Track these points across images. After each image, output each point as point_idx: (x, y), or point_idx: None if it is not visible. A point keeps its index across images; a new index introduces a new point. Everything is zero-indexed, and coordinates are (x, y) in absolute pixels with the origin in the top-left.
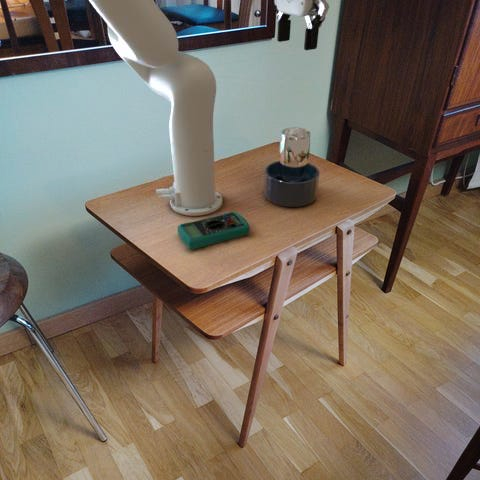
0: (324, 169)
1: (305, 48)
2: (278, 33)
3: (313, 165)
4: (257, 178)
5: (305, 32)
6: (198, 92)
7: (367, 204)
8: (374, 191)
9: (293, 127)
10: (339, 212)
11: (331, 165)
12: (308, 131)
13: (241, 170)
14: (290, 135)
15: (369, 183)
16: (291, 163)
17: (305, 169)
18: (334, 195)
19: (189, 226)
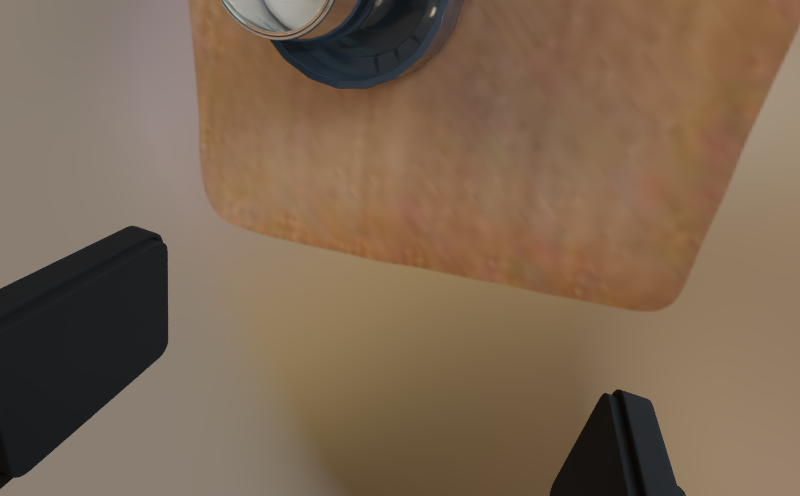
0: (416, 228)
1: (129, 228)
2: (646, 454)
3: (326, 83)
4: (554, 6)
5: (22, 319)
6: None
7: (204, 117)
8: (240, 196)
9: (325, 10)
10: (215, 16)
11: (418, 264)
12: (245, 23)
13: (657, 13)
14: (346, 1)
15: (276, 229)
16: None
17: (364, 78)
18: (290, 98)
19: None
